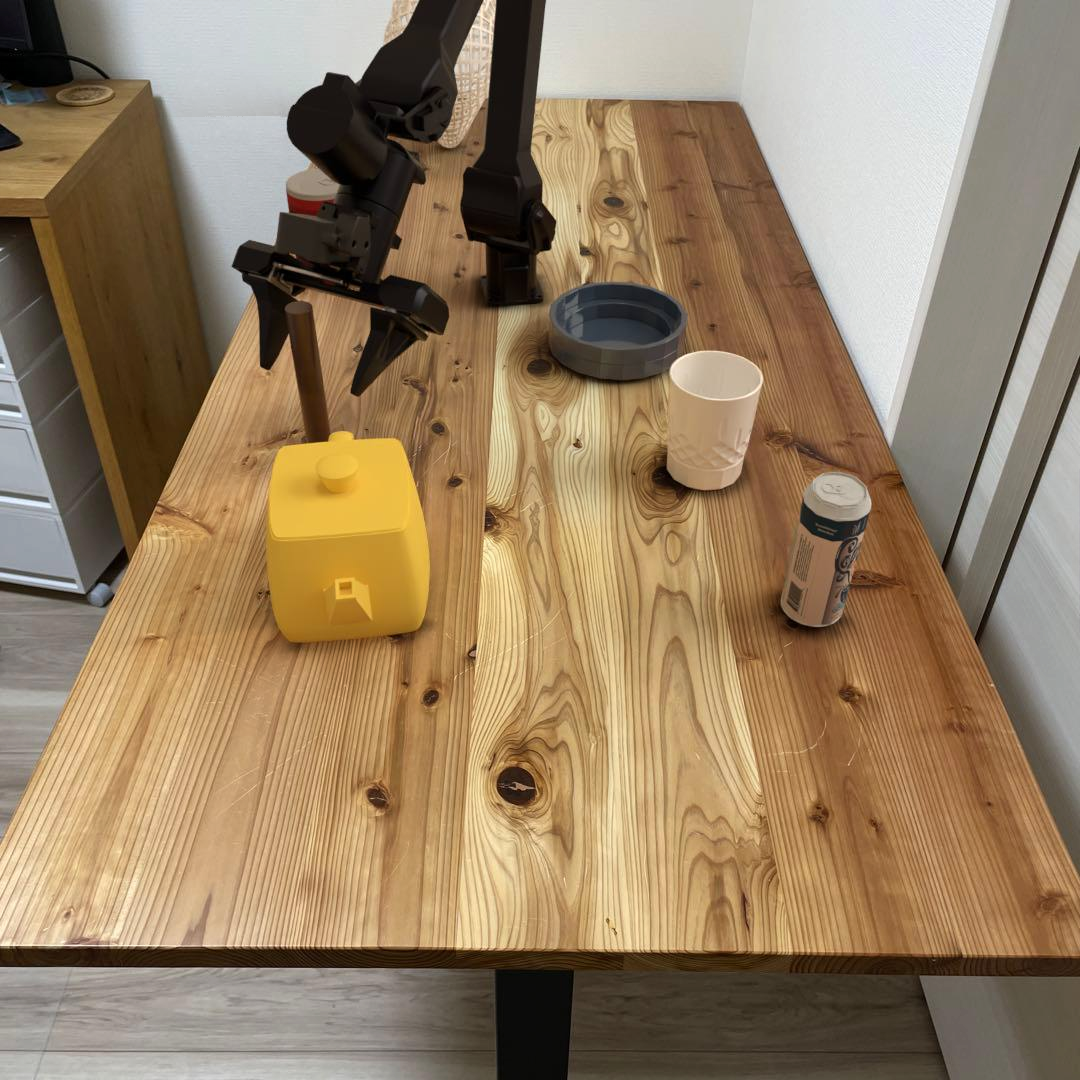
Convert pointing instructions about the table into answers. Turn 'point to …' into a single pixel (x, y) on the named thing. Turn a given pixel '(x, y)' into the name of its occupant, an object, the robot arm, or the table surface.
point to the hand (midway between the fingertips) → (308, 381)
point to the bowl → (617, 330)
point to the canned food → (309, 195)
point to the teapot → (345, 541)
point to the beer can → (825, 548)
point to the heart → (397, 28)
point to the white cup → (710, 417)
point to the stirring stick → (308, 371)
